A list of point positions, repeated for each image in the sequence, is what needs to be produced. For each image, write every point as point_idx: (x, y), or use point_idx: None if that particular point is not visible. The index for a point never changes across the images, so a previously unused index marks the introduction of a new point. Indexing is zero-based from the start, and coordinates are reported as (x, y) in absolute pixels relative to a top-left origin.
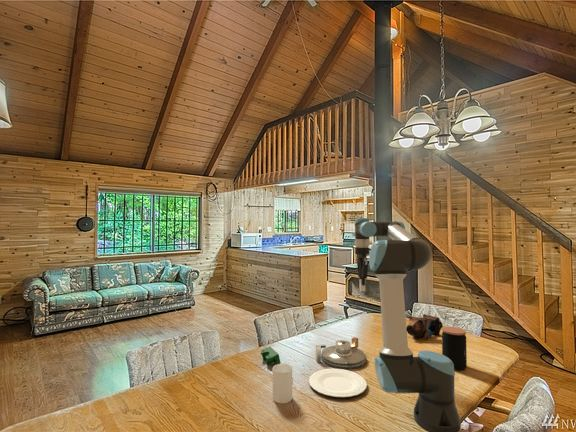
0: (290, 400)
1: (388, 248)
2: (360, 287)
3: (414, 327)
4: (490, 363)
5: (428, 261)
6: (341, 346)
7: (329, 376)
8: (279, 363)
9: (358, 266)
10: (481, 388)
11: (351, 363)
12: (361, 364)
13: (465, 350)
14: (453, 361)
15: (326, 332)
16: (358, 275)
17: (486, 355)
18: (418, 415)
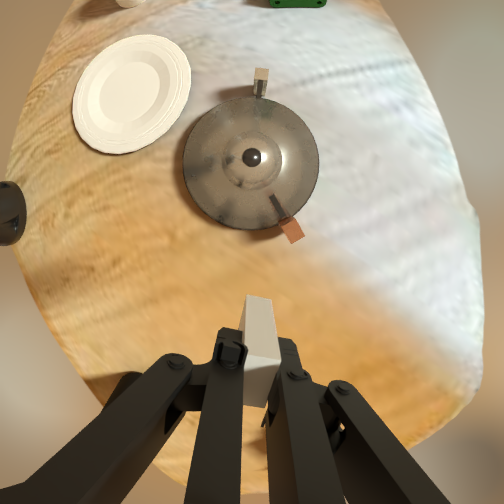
0: (119, 5)
1: None
2: (246, 308)
3: None
4: None
5: None
6: (231, 142)
7: (161, 82)
8: (270, 3)
9: (394, 491)
10: (66, 355)
11: (184, 155)
12: (188, 188)
13: None
14: (118, 384)
15: (444, 224)
16: (335, 388)
17: (179, 458)
18: (1, 183)
